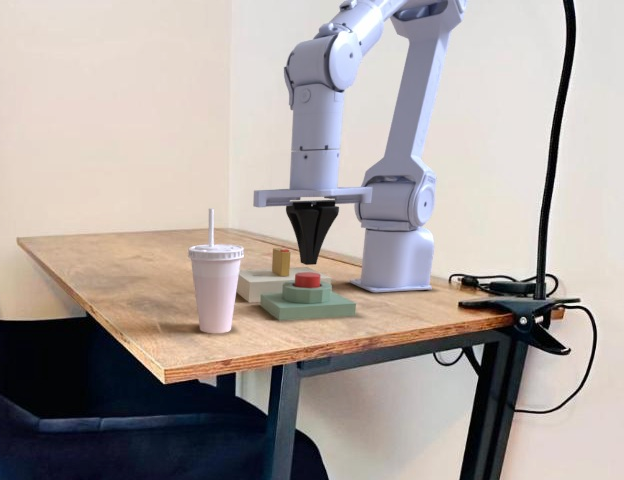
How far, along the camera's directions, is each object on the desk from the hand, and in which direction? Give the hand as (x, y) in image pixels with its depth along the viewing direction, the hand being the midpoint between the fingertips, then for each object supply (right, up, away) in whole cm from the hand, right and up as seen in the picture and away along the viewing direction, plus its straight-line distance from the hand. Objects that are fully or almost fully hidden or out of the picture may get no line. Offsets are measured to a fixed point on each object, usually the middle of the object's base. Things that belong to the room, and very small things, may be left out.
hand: (308, 263), depth 71 cm
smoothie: (-12, -9, -5) cm, 16 cm away
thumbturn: (-1, 0, +11) cm, 11 cm away
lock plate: (-1, -2, +12) cm, 12 cm away
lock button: (0, -3, +1) cm, 3 cm away
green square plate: (0, -6, +2) cm, 6 cm away
